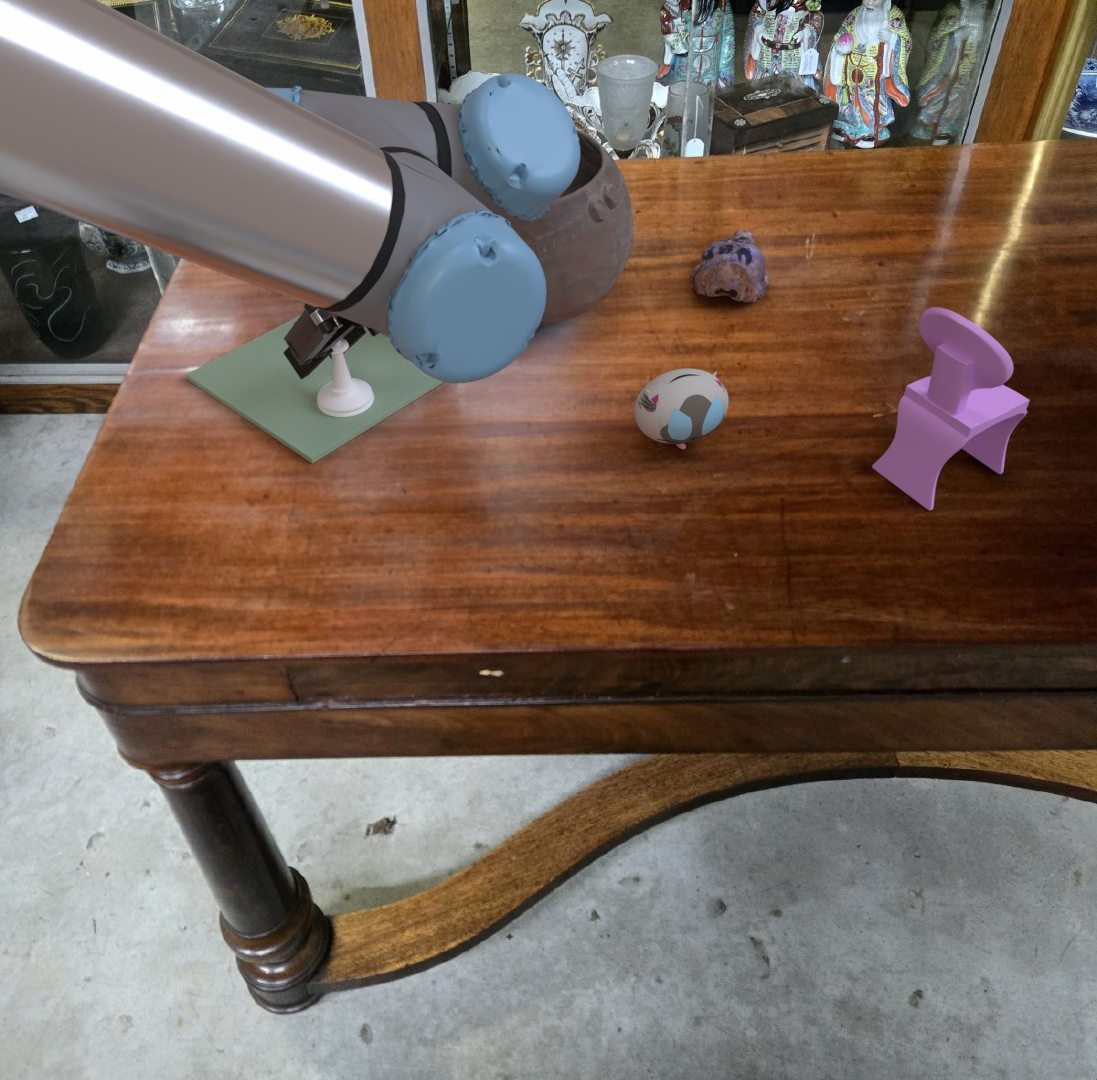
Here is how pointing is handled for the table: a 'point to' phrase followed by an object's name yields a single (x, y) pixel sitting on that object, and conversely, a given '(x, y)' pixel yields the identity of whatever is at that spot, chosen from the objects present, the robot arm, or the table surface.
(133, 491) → the table surface
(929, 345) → the toy chair
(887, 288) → the table surface
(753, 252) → the purple rounded piece
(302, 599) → the table surface
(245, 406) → the mat
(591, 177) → the clay pot
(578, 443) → the table surface
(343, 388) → the chess piece
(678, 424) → the figurine
